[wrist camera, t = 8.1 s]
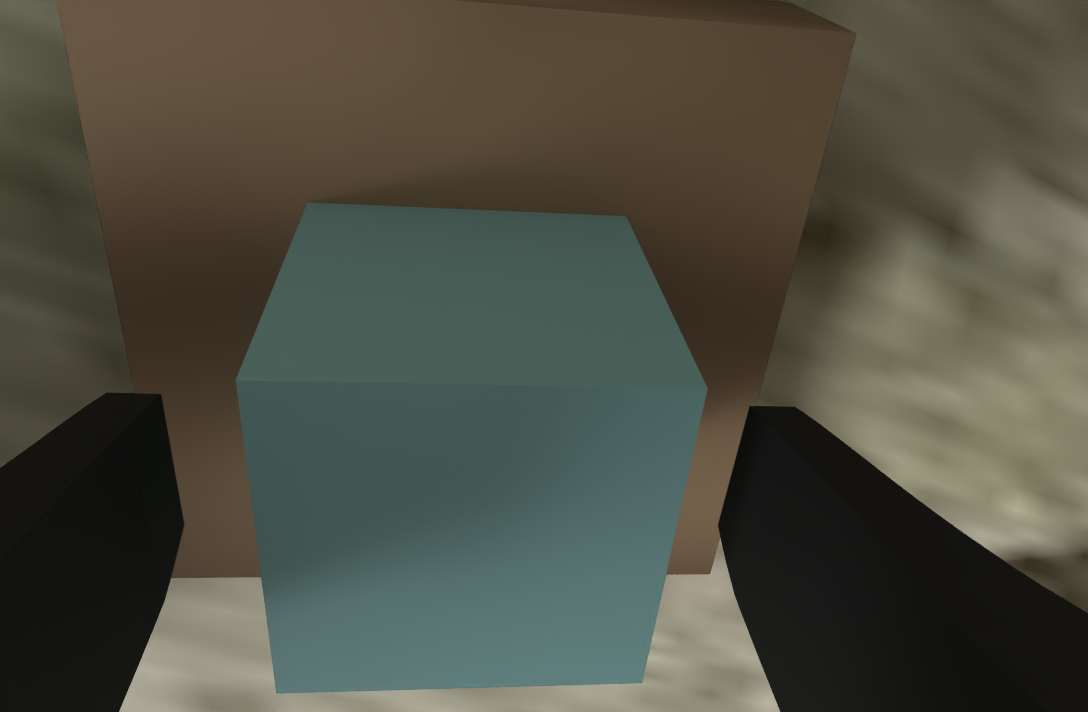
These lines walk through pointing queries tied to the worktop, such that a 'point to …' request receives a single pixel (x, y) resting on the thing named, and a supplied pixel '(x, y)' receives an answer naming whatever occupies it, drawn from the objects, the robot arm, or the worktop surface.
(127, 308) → the walnut block
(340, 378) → the teal cube
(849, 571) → the robot arm
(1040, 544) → the worktop surface
